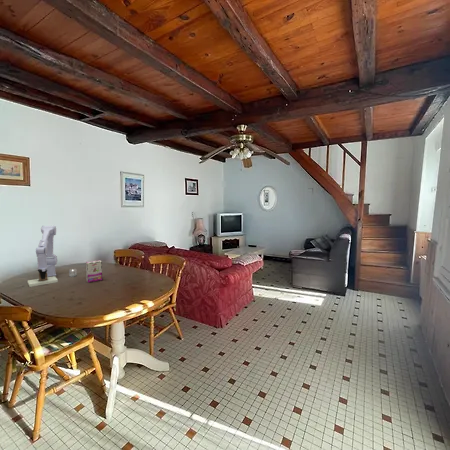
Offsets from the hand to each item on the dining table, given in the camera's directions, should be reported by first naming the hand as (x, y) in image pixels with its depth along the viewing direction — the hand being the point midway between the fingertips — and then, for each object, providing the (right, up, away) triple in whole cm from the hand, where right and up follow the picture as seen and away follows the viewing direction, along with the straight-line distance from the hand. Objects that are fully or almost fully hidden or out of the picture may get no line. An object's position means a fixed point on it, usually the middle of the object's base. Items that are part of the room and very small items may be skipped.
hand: (42, 278), depth 194 cm
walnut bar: (0, -2, 0) cm, 2 cm away
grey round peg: (+13, -2, +19) cm, 23 cm away
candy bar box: (+37, -4, +8) cm, 38 cm away
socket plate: (0, -3, 0) cm, 3 cm away
